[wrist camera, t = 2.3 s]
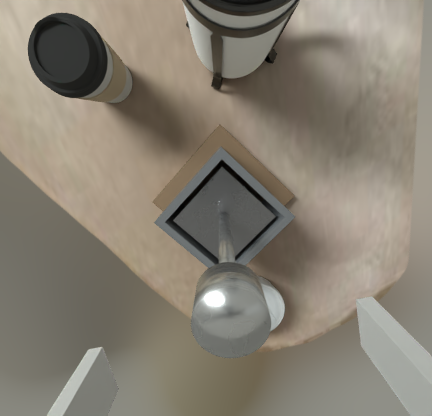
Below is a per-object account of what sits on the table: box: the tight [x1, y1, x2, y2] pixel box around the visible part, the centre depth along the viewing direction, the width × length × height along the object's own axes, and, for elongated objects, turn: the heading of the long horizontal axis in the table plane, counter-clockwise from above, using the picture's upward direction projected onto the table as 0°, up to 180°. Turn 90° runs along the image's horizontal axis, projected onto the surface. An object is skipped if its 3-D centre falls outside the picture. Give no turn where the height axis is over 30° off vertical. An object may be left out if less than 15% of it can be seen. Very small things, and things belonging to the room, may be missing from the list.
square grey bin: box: [153, 125, 295, 268], centre depth 41 cm, size 18×18×14 cm
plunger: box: [173, 167, 276, 358], centre depth 25 cm, size 10×10×22 cm
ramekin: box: [258, 276, 285, 331], centre depth 50 cm, size 11×11×5 cm
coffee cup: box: [28, 13, 132, 103], centre depth 36 cm, size 9×9×15 cm
